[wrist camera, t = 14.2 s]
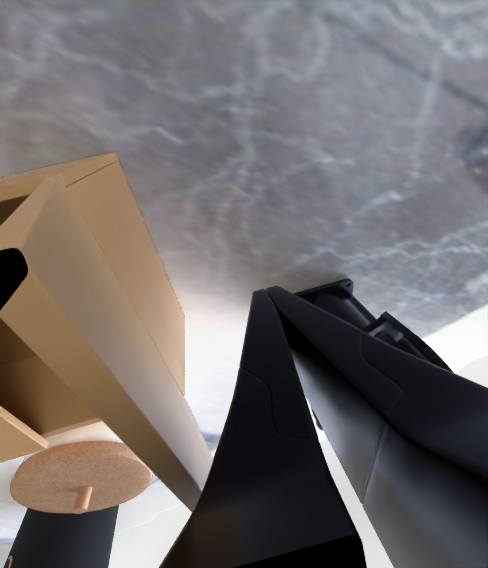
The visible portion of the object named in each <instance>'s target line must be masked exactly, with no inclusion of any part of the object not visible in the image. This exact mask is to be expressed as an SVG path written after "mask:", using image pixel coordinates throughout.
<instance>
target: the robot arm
mask: <svg viewBox="0 0 488 568" xmlns="http://www.w3.org/2000/svg"><path fill="white" fill-rule="evenodd" d="M380 316H381V317H379V318H378V319H376V318H375V317H374V316H373V315H372V314H371V313H370V312H369V311H368V310H367V309H366V308H365V307H364V306H363V305H362V304H361V303H360V302H359V301H358V300H357V299H356V298H355V297H354V296H353V281H351V280H350V279H344V280H341V281H337V282H333V283H330V284H326V285H323V286H319V287H315V288H312V289H308V290H304V291H301V292H297V293H294V294H292V293H290V292H289V291H287V290H285V289H283V288H281V287H279V286H273V287H269V288H266V290H265V289H261V290H258V291H254V292H253V294H252V300H251V305H250V311H249V317H248V322H247V328H246V333H245V339H244V344H243V350H242V355H241V361H240V368H239V371H238V376H237V382H236V386H235V391H234V395H233V399H232V403H231V406H230V409H229V413H228V416H227V419H226V422H225V425H224V429H223V432H222V435H221V438H220V441H219V444H218V447H217V450H216V453H215V456H214V459H213V462H212V465H211V468H210V471H209V474H208V477H207V480H206V483H205V485H204V488H203V490H202V493H201V495H200V498H199V500H198V502H197V504H196V507H195V509H194V510H193V512H192V514H191V516H190V518H189V520H188V522H187V523H186V525H185V526H184V528H183V529H182V531H181V533H180V534H179V536H178V538H177V539H176V541H175V542H174V544H173V546H172V547H171V549H170V550H169V552H168V554H167V555H166V557H165V558H164V560H163V562H162V563H161V565H160V567H159V568H367V566H366V561H365V555H364V550H363V545H362V541H361V539H360V536H359V534H358V532H357V530H356V528H355V526H354V523H353V521H352V519H351V517H350V515H349V513H348V511H347V509H346V506H345V504H344V502H343V500H342V498H341V495H340V493H339V491H338V489H337V487H336V485H335V482H334V480H333V478H332V476H331V473H330V471H329V468H328V466H327V463H326V460H325V457H324V454H323V452H322V449H321V446H320V443H319V441H318V436H317V433H316V429H315V426H314V423H313V420H312V417H311V414H310V410H309V407H308V404H307V401H306V398H305V395H306V397H307V399H308V401H309V403H310V405H311V408H312V412H313V415H314V417H315V419H316V424H317V426H318V428H319V429H320V430H322V431H324V432H325V434H326V436H327V438H328V440H329V442H330V444H331V446H332V448H333V450H334V452H335V453H336V455H337V457H338V459H339V461H340V463H341V465H342V467H343V469H344V471H345V473H346V475H347V477H348V479H349V481H350V483H351V485H352V487H353V488H354V490H355V492H356V494H357V496H358V498H359V500H360V502H361V503H362V504H363V508H364V510H365V512H366V514H367V516H368V518H369V520H370V522H371V524H372V526H373V527H374V530H375V531H376V533H377V535H378V537H379V539H380V541H381V543H382V545H383V547H384V549H385V551H386V553H387V555H388V556H389V559H390V561H391V563H392V565H393V566H394V568H488V388H487V387H484V386H482V385H480V384H477V383H475V382H473V381H470V380H468V379H466V378H463V377H461V376H459V375H457V374H454V373H453V371H452V370H451V369H450V368H449V367H448V365H447V364H446V363H445V362H444V361H443V360H442V359H441V358H440V357H439V356H438V355H437V354H436V353H435V352H434V351H433V350H432V349H431V348H430V347H429V346H428V345H427V344H426V343H425V342H424V341H423V340H421V339H420V338H419V337H418V336H417V335H415V334H414V333H413V332H411V331H410V330H409V329H408V328H406V327H405V326H404V325H403V324H401V323H400V322H399V321H398V320H396V319H395V318H394V317H392V316H391V315H390V314H389V313H387V312H384V313H383V314H381V315H380ZM304 393H305V395H304Z"/></svg>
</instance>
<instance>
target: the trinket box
mask: <svg viewBox="0 0 488 568" xmlns="http://www.w3.org/2000/svg"><path fill="white" fill-rule="evenodd" d="M44 439H46V440H47V441H48V442H49V445H48V447H47V449H44V450H41V451H37V452H34V453H31V454H27V455H26V456H25V458H24V460H23V462H22V464H21V465H20V466H19V468H18V469H17V471H16V473H15V475H14V477H13V479H12V481H11V483H10V493H11V495H12V497H13V498H14V500H15V501H17V502H18V503H19V504H21V505H23V506H25V507H28V508H31V509H34V510H38V511H43V512H51V513H74V514H81V513H84V512H89V511H96V510H101V509H105V508H109V507H112V506H116V505H118V504H121V503H123V502H126V501H128V500H130V499H132V498H134V497H136V496H137V495H139V494H140V493H142V492H143V491H144V490H145V489H146V488H147V487H148V485H149V484H150V482H151V481H152V477H153V472H152V471H151V470H150V469H149V468H148V467H147V466H146V465H145V464H144V463H143V462H142V461H141V460H140V459H139V458H138V457H137V456H136V455H135V454H134V453H133V452H132V451H131V450H130V449H129V448H128V447H127V446H126V445H125V444H124V443H123V442H122V441H121V440H120V439H119V438H118V437H117V436H116V435H115V433H114V432H113V431H112V430H111V429H110V428H109V427H108V426H107V425H106V424H105V423H104V422H103V421H100V422H97V423H94V424H90V425H87V426H83V427H80V428H77V429H73V430H70V431H67V432H63V433H60V434H56V435H53V436H50V437H46V438H44Z"/></svg>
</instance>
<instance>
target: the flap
mask: <svg viewBox="0 0 488 568" xmlns="http://www.w3.org/2000/svg"><path fill="white" fill-rule="evenodd" d="M0 318H1V319H2V320H3V321H4V322H5V323H6V324H7V325H8V326H9V327H10V328H11V329H12V330H13V331H14V332H15V333H16V334H17V335H18V336H19V337H20V338H21V339H22V340H23V341H24V342H25V343H26V344H27V345H28V346H29V347H30V348H31V349H32V350H33V351H34V352H35V353H36V354H37V355H38V356H39V357H40V358H41V360H42V361H43V362H44V363H45V364H46V365H47V366H48V367H49V368H50V369H51V370H52V371H53V372H54V373H55V374H56V375H57V376H58V377H59V378H60V379H61V380H62V381H63V382H64V383H65V384H66V385H67V386H68V387H69V388H70V389H71V390H72V391H73V392H74V393H75V394H76V395H77V396H78V397H79V398H80V399H81V400H82V401H83V402H84V403H85V404H86V405H87V406H88V407H89V408H90V409H91V410H92V411H93V412H94V413H95V414H96V415H97V416H98V417H99V418H100V419H101V420H102V421H103V422H104V423H105V424H106V425H107V426H108V427H109V428H110V429H111V430H112V431H113V432H114V433H115V435H116V436H117V437H118V438H119V439H120V440H121V441H122V442H123V443H124V444H125V445H126V446H127V447H128V448H129V449H130V450H131V451H132V452H133V453H134V454H135V455H136V456H137V457H138V458H139V459H140V460H141V461H142V462H143V463H144V464H145V465H146V466H147V467H148V468H149V469H150V470H151V471H152V472H153V473H154V474H155V475H156V476H157V477H158V478H159V479H160V480H161V481H162V482H163V483H164V484H165V485H166V486H167V487H168V488H169V489H170V490H171V491H172V492H173V493H174V494H175V495H176V496H177V497H178V498H179V499H180V500H181V501H182V502H183V503H184V504H185V505H186V506H187V507H188V509H189V510H190V511H192V512H193V510H194V509H195V507H196V504H197V502H198V500H199V498H200V495H201V493H202V490H203V488H204V485H205V483H206V480H207V477H208V474H209V471H210V468H211V465H212V462H213V457H212V455H211V453H210V451H209V449H208V446H207V444H206V442H205V440H204V438H203V436H202V433H201V431H200V429H199V427H198V425H197V423H196V420H195V418H194V416H193V414H192V412H191V410H190V407H189V405H188V403H187V401H186V400H185V398H184V396H183V394H182V393H181V391H180V389H179V387H178V385H177V384H176V382H175V380H174V378H173V377H172V375H171V373H170V371H169V370H168V368H167V366H166V364H165V362H164V361H163V359H162V357H161V355H160V354H159V352H158V350H157V348H156V346H155V345H154V343H153V341H152V339H151V338H150V336H149V334H148V332H147V331H146V329H145V327H144V325H143V323H142V322H141V320H140V318H139V316H138V315H137V313H136V311H135V309H134V307H133V306H132V304H131V302H130V300H129V299H128V297H127V295H126V293H125V291H124V290H123V288H122V286H121V284H120V283H119V281H118V279H117V277H116V276H115V274H114V272H113V270H112V268H111V267H110V265H109V263H108V261H107V260H106V258H105V256H104V254H103V252H102V251H101V249H100V247H99V245H98V244H97V242H96V240H95V238H94V237H93V235H92V233H91V231H90V229H89V228H88V226H87V224H86V222H85V221H84V219H83V217H82V215H81V213H80V212H79V210H78V208H77V206H76V205H75V203H74V201H73V199H72V198H71V196H70V194H69V192H68V190H67V189H66V187H65V185H64V183H63V182H62V180H61V178H60V176H59V175H55V176H51V177H47V178H46V179H45V180H44V181H43V182H42V183H41V184H40V185H39V186H38V187H37V188H36V189H35V190H34V191H33V192H32V193H31V194H30V195H29V197H28V198H27V199H26V200H25V201H24V202H23V203H22V204H21V205H20V206H19V207H18V208H17V209H16V210H15V211H14V212H13V213H12V214H11V215H10V216H9V217H8V218H7V220H6V221H5V222H4V223H3V224H2V225H1V226H0Z"/></svg>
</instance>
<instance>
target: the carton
mask: <svg viewBox="0 0 488 568" xmlns="http://www.w3.org/2000/svg"><path fill="white" fill-rule="evenodd" d="M55 175H59V176H60V178H61V180H62V182H63V183H64V185H65V187H66V189H67V190H68V192H69V194H70V196H71V198H72V199H73V201H74V203H75V205H76V206H77V208H78V210H79V212H80V213H81V215H82V217H83V219H84V221H85V222H86V224H87V226H88V228H89V229H90V231H91V233H92V235H93V237H94V238H95V240H96V242H97V244H98V245H99V247H100V249H101V251H102V252H103V254H104V256H105V258H106V260H107V261H108V263H109V265H110V267H111V268H112V270H113V272H114V274H115V276H116V277H117V279H118V281H119V283H120V284H121V286H122V288H123V290H124V291H125V293H126V295H127V297H128V299H129V300H130V302H131V304H132V306H133V307H134V309H135V311H136V313H137V315H138V316H139V318H140V320H141V322H142V323H143V325H144V327H145V329H146V331H147V332H148V334H149V336H150V338H151V339H152V341H153V343H154V345H155V346H156V348H157V350H158V352H159V354H160V355H161V357H162V359H163V361H164V362H165V364H166V366H167V368H168V370H169V371H170V373H171V375H172V377H173V378H174V380H175V382H176V384H177V385H178V387H179V389H180V391H181V393H182V394H183V396H185V319H184V318H185V316H184V313H183V311H182V309H181V306H180V304H179V302H178V299H177V297H176V294H175V292H174V290H173V287H172V285H171V283H170V280H169V278H168V276H167V273H166V271H165V268H164V266H163V264H162V261H161V259H160V257H159V254H158V252H157V250H156V247H155V245H154V243H153V240H152V238H151V235H150V233H149V231H148V228H147V226H146V224H145V221H144V219H143V217H142V214H141V212H140V210H139V207H138V205H137V202H136V200H135V198H134V195H133V193H132V191H131V188H130V186H129V184H128V181H127V179H126V176H125V174H124V172H123V169H122V167H121V165H120V162H119V160H118V158H117V155H116V153H115V152H110V153H106V154H101V155H97V156H92V157H88V158H84V159H79V160H75V161H70V162H66V163H61V164H57V165H53V166H48V167H44V168H39V169H35V170H30V171H26V172H21V173H17V174H13V175H8V176H4V177H0V226H1V225H2V224H3V223H4V222H5V221H6V220H7V218H8V217H9V216H10V215H11V214H12V213H13V212H14V211H15V210H16V209H17V208H18V207H19V206H20V205H21V204H22V203H23V202H24V201H25V200H26V199H27V198H28V197H29V195H30V194H31V193H32V192H33V191H34V190H35V189H36V188H37V187H38V186H39V185H40V184H41V183H42V182H43V181H44V180H45V179H46V178H47V177H51V176H55ZM100 421H102V420H101V419H100V418H99V417H98V416H97V415H96V414H95V413H94V412H93V411H92V410H91V409H90V408H89V407H88V406H87V405H86V404H85V403H84V402H83V401H82V400H81V399H80V398H79V397H78V396H77V395H76V394H75V393H74V392H73V391H72V390H71V389H70V388H69V387H68V386H67V385H66V384H65V383H64V382H63V381H62V380H61V379H60V378H59V377H58V376H57V375H56V374H55V373H54V372H53V371H52V370H51V369H50V368H49V367H48V366H47V365H46V364H45V363H44V362H43V361H42V360H41V358H40V357H39V356H38V355H37V354H36V353H35V352H34V351H33V350H32V349H31V348H30V347H29V346H28V345H27V344H26V343H25V342H24V341H23V340H22V339H21V338H20V337H19V336H18V335H17V334H16V333H15V332H14V331H13V330H12V329H11V328H10V327H9V326H8V325H7V324H6V323H5V322H4V321H3V320H2V319H1V318H0V463H1V462H4V461H7V460H11V459H14V458H17V457H21V456H24V455H27V454H31V453H34V452H37V451H41V450H44V449H47V447H48V445H49V442H48V441H47V440H46V439H44V438H46V437H50V436H53V435H56V434H60V433H63V432H67V431H70V430H73V429H77V428H80V427H83V426H87V425H90V424H94V423H97V422H100Z"/></svg>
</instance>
